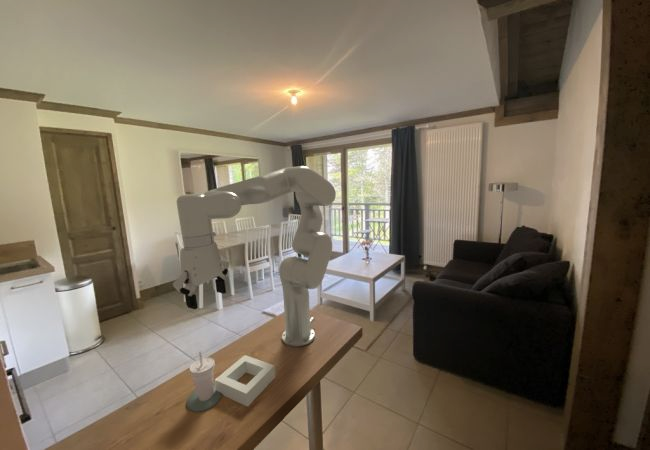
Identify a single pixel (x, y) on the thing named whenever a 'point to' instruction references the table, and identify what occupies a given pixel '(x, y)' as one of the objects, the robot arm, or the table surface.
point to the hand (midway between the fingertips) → (207, 299)
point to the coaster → (200, 406)
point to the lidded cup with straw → (203, 377)
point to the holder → (250, 391)
